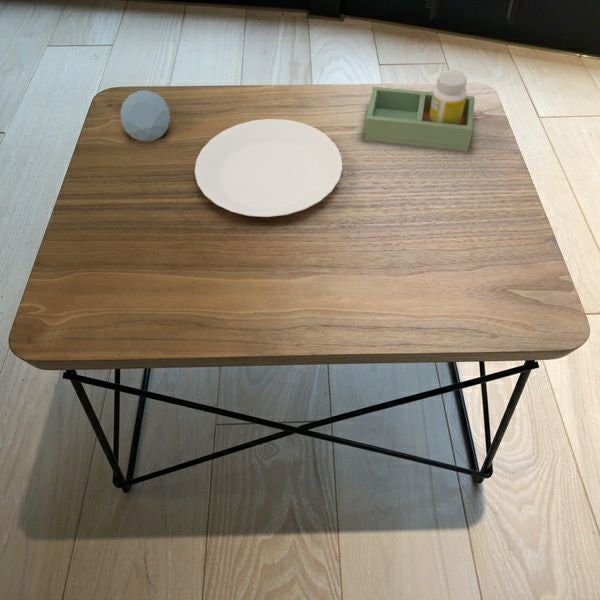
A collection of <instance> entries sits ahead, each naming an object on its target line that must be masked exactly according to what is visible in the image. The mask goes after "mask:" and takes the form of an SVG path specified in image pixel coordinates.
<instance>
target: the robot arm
mask: <svg viewBox="0 0 600 600" xmlns="http://www.w3.org/2000/svg"><path fill="white" fill-rule="evenodd" d="M438 1H439V0H425V5H424V6H425V9H430V10H429V19H435V18H436V16H437V15H436V14H437V9H438ZM525 2H526V0H509V6H508V10H507V23H509V25H514V24H515V21H516V17H517V15H522V13H523V10H524V6H525Z"/></svg>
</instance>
